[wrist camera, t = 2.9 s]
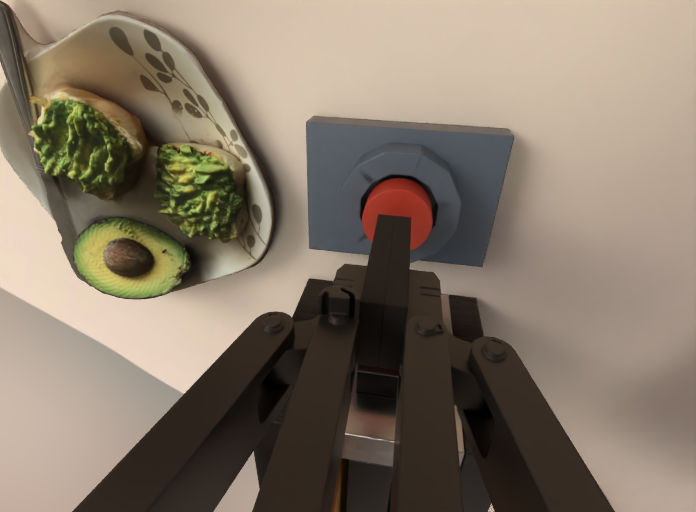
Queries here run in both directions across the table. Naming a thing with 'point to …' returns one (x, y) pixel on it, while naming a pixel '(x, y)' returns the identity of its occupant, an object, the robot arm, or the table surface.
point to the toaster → (384, 418)
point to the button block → (410, 163)
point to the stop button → (400, 207)
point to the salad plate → (132, 156)
